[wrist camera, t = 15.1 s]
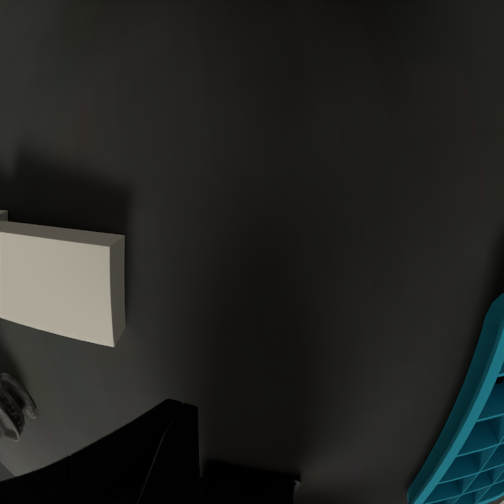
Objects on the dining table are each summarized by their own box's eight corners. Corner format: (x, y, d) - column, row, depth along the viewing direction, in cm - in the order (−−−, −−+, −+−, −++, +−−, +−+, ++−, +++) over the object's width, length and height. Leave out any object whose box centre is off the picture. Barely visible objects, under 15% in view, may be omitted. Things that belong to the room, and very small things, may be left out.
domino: (109, 246, 12) (-29, 227, 11) (114, 347, 13) (-16, 311, 13) (124, 235, 14) (-7, 219, 13) (125, 326, 15) (2, 298, 14)
